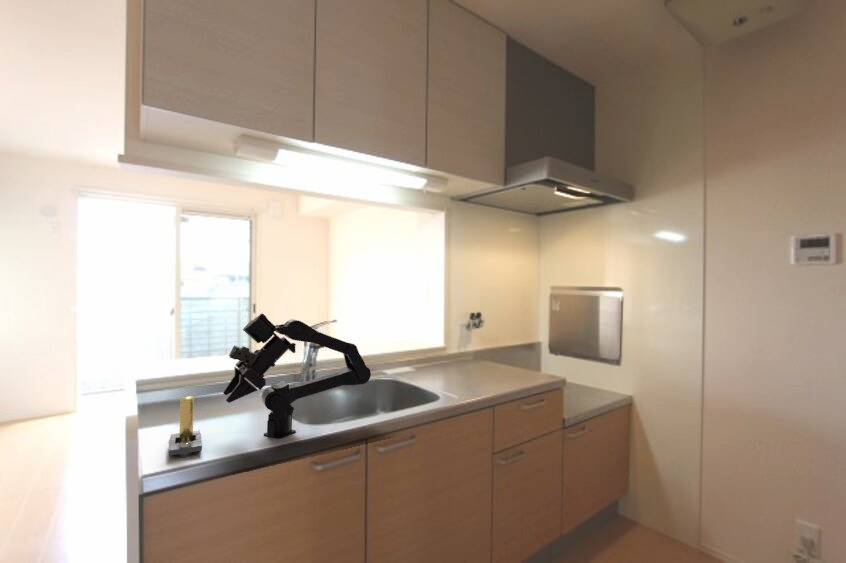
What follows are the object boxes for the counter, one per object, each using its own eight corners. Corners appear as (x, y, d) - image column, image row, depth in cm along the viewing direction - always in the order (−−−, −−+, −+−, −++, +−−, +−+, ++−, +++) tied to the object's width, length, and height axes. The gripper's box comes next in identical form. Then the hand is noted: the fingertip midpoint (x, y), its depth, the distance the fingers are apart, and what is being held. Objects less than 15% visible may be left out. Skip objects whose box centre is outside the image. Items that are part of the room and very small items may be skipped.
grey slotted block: (170, 438, 111) (171, 427, 111) (199, 434, 114) (199, 424, 114) (168, 460, 96) (168, 448, 96) (201, 455, 100) (202, 443, 100)
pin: (187, 445, 106) (188, 396, 106) (195, 447, 105) (196, 397, 105) (176, 449, 103) (177, 398, 104) (184, 451, 102) (185, 399, 102)
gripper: (244, 332, 120) (201, 372, 114) (253, 338, 104) (204, 385, 98) (271, 357, 124) (231, 397, 118) (284, 366, 108) (238, 413, 102)
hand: (225, 397), depth 109 cm, fingers open, 9 cm apart
